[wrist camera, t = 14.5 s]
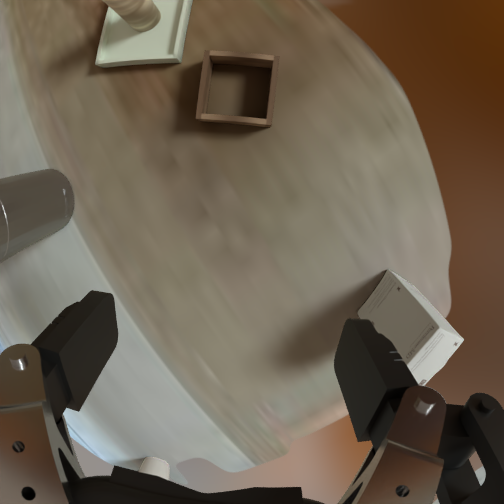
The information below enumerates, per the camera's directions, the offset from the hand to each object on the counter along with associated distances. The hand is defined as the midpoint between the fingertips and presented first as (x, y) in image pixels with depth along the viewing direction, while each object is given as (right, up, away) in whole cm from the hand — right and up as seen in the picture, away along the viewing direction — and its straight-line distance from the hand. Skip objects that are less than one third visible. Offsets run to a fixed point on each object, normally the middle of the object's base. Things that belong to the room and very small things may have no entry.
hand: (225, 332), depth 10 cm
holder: (-1, +22, +22) cm, 31 cm away
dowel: (-12, +32, +18) cm, 39 cm away
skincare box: (+20, -4, +32) cm, 38 cm away
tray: (-12, +32, +19) cm, 39 cm away
